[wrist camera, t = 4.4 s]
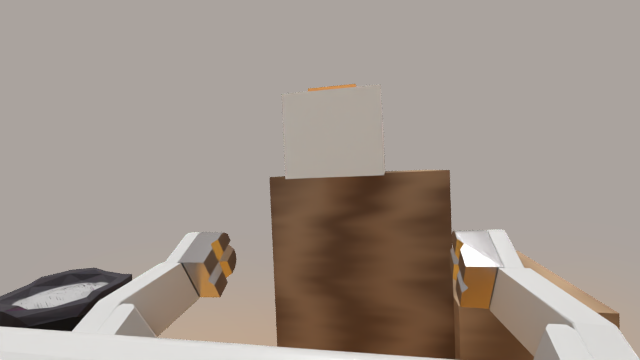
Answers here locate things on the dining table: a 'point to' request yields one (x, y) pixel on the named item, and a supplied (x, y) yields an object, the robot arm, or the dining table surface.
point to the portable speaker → (58, 299)
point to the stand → (381, 270)
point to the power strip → (333, 132)
